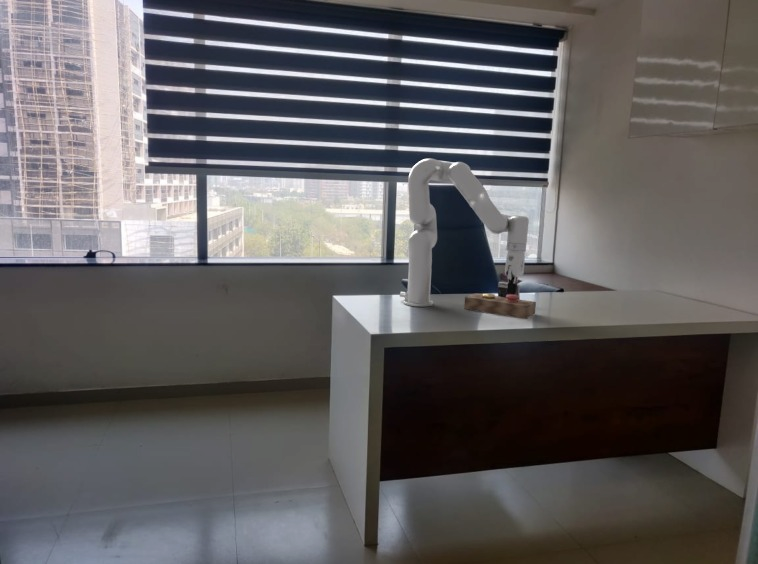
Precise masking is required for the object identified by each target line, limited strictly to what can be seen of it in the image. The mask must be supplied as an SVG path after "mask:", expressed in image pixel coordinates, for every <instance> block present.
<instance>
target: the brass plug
mask: <svg viewBox="0 0 758 564" xmlns="http://www.w3.org/2000/svg"><path fill="white" fill-rule="evenodd" d="M481 294H482V297H484V298H486V299H493V298H495V296H496V294H494V293H485V292H484V293H481Z"/></svg>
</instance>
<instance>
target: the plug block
mask: <svg viewBox="0 0 758 564" xmlns="http://www.w3.org/2000/svg"><path fill="white" fill-rule="evenodd" d="M482 294H483V293H476V292H475V293H473V294H470V295H466V296H464V305H463V307H464V308H463V309H464V310H468V309H470V310H469V311H474V310H475V311H474V312H480V311H481V312H482V313H487V314H495V315H499V316H505V317H511V318H520V319H525V320H526V319H529V318H530V317H532V316H534V315H536V308H537V307H536V305H537V302H536V301H534V300H533V301H532V300H525V299H520V300H519V299H517V302H516V303H514V302H507V301H508V299H507V298H505V297H498V295H497V296H496V295H495V298H493V299H486V298H484V297H482Z"/></svg>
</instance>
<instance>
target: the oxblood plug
mask: <svg viewBox="0 0 758 564" xmlns="http://www.w3.org/2000/svg"><path fill="white" fill-rule="evenodd" d="M506 298H507V299H508V301H507V302H514V303H516V302H517V299H519V296H518V295H506Z"/></svg>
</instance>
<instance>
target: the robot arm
mask: <svg viewBox="0 0 758 564" xmlns="http://www.w3.org/2000/svg"><path fill="white" fill-rule="evenodd" d="M407 181H408V182H407V184H408V185H407V187H408V189H407V190H408V208H409V209H408V213H409V214H408V215H409V219H410V222H412V223H413V225H414V231H413V232H412V233H411V234H410V236H409V238H408V276H407V277H408V278H407V291H406V292H405V291H400V293H399V297H401V298H404V299H403V304H404V305H406V306H408V307H409V306H410V307H422V308H423V307H431V306H433V305H434V301H433V300H431V285H432V284H431V283H432V282H431V281H432V264H433V259H432V258H433V252H432V251H433V248H435V246H436V244H437V243H438V228H437V227H438V226H437V225H438V224H437V213H436V209H435V207H434V206H433V204H431V202H430V201H431V200H430V187H429V183H430V181H435V182H441V183H442V182H443V183H450V184H453V185H454V187H455V188H456V190H458V192H459V193H460V194H461V196H462V197H463V198H464V200H466V202H467V203H468V205H469V207H470V208H472V210H473V211H474V213H475V215H476V216H477V217H478V218H479V220H480V221H481V222H482V223H483V225H484V226H485V227H486V228H487V230H488V231H490V232H491V233H493V234H495V235H496V234H497V235H499V234H502V233H507V236H506V246H505V247H506V249H505V250H506V252H507V254H506V260H505V268H504V274H505V276H506V277H507V278H506V279H507V283H508V288H507V293H512V294H515V293H516V290H517V284H518V280H519V277H522V276H523V275H524V272H525V262H526V261H525V257H526V256H525V253H526V251H527V242H528V233H529V232H528V231H529V223H530V220H529V219H530V218H529V217H527V216H524V215H507V214H503V213H501V211H500V210H499V209H498V208H497V207H496V205H495V204H494V203H493V201H492V200H491V198H490V196H489V194H488V191H487V190H486V188H485V186H484V185H483V184H482V183H481V182H480V181H479V179H478V178H477V177H476V176H475V175H474V173H473V172H472V170H471V167H470V166H469V164H467V163H465V162H463V161H456V162H452V161H445V160H438V159H435V158H430V157H429V158H424V159H421V160H420V161H418V162H417V163H415V165H413V166H412V168H411V170H410V172H409V175H408V180H407Z"/></svg>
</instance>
